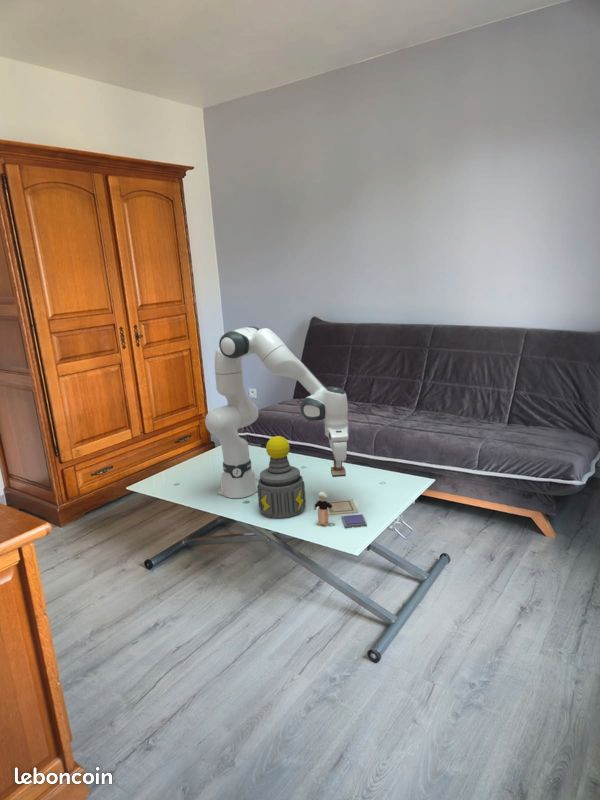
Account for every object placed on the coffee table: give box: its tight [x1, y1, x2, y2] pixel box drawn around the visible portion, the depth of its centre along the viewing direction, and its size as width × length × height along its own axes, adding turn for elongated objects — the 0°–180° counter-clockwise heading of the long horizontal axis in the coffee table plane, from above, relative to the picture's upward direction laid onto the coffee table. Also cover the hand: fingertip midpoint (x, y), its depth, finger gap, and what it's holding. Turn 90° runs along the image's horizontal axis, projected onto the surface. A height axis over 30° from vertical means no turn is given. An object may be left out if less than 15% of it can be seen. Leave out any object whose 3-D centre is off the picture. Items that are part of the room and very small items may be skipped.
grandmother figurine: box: [313, 491, 334, 527], centre depth 196 cm, size 8×4×13 cm, turn 81°
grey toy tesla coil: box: [257, 435, 306, 519], centre depth 210 cm, size 19×19×30 cm
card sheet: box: [327, 498, 359, 516], centre depth 211 cm, size 12×12×1 cm
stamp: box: [330, 456, 347, 478], centre depth 206 cm, size 5×5×7 cm
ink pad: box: [341, 513, 368, 529], centre depth 197 cm, size 8×8×1 cm
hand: (337, 464), depth 206 cm, fingers closed on stamp, 3 cm apart
